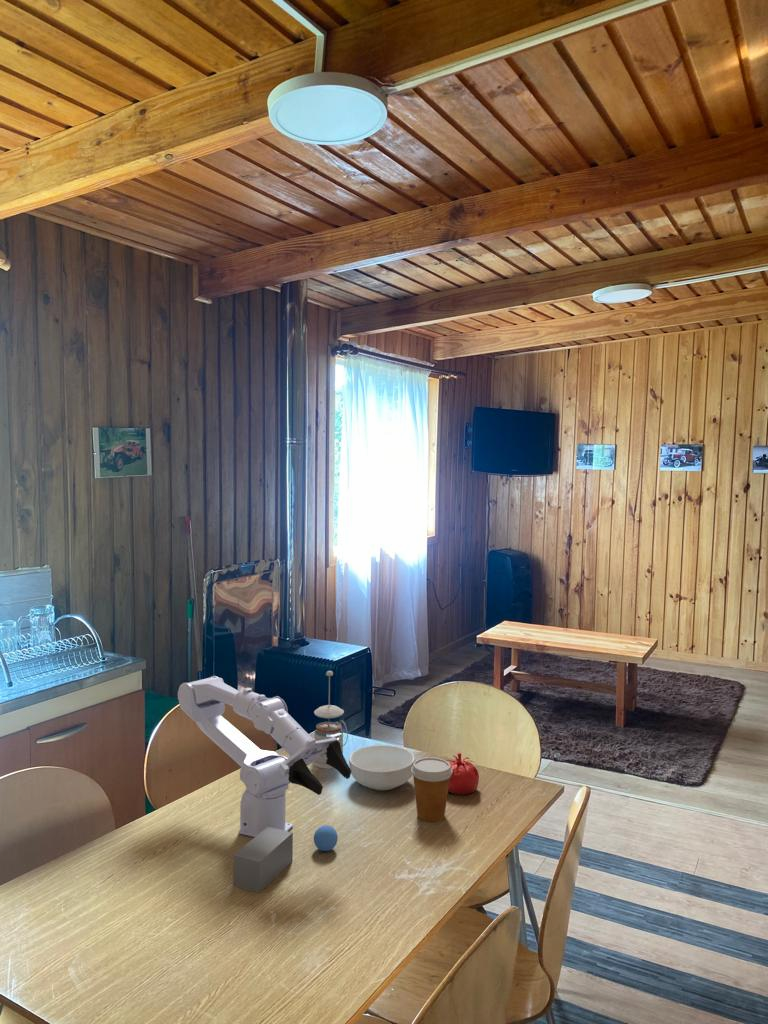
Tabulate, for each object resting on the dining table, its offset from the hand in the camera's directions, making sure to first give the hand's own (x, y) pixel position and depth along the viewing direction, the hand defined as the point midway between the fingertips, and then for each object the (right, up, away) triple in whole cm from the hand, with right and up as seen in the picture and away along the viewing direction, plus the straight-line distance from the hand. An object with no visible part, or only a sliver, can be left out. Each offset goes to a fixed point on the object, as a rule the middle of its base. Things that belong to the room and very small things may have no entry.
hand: (335, 782), depth 150 cm
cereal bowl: (+9, -15, +40) cm, 44 cm away
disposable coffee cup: (+21, -16, +23) cm, 35 cm away
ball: (-2, -14, +7) cm, 16 cm away
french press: (-5, -14, +53) cm, 55 cm away
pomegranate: (+29, -15, +37) cm, 50 cm away
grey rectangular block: (-14, -17, -2) cm, 22 cm away
